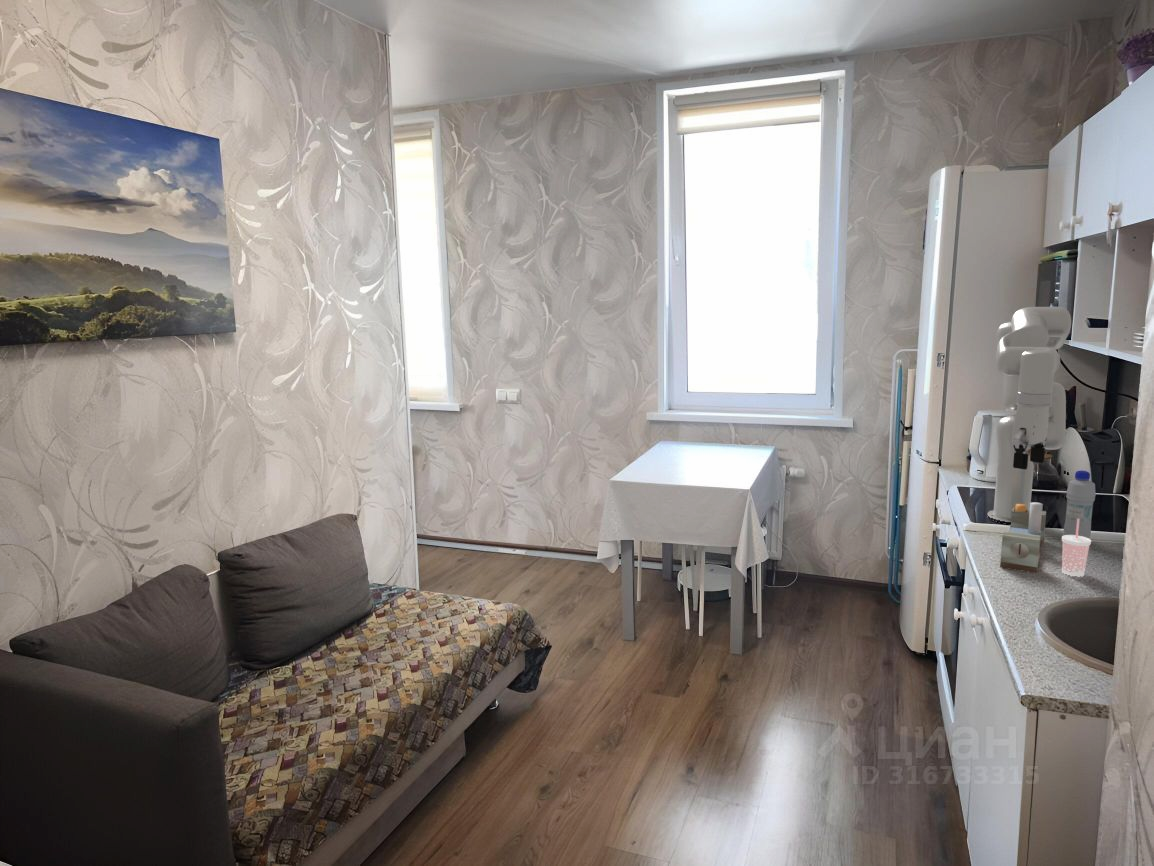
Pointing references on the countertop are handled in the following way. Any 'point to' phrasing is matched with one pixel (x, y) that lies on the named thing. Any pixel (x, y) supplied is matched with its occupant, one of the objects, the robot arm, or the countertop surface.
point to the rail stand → (1022, 544)
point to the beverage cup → (1075, 553)
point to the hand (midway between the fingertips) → (1028, 465)
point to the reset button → (1020, 507)
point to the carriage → (1032, 520)
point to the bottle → (1079, 504)
